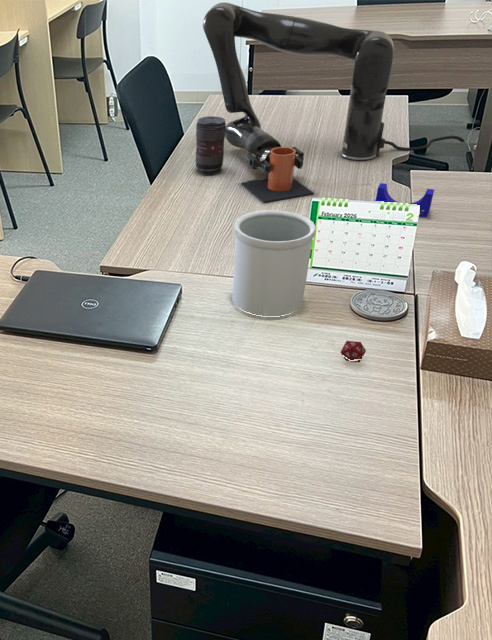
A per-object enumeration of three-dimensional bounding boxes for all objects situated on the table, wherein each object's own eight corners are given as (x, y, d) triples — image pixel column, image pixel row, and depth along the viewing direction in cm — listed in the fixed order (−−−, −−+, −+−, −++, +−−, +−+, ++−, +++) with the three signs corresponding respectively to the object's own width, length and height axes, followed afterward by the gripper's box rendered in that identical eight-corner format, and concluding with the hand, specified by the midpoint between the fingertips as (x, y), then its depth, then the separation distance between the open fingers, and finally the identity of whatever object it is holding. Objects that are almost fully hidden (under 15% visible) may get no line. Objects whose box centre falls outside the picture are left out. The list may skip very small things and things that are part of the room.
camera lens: (225, 174, 202) (228, 123, 194) (197, 177, 203) (198, 125, 194) (220, 164, 209) (223, 114, 201) (193, 167, 209) (194, 116, 201)
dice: (335, 355, 128) (338, 337, 126) (360, 353, 128) (364, 335, 126) (342, 367, 125) (345, 349, 123) (368, 366, 125) (371, 347, 122)
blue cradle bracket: (372, 212, 174) (376, 189, 171) (376, 205, 177) (380, 183, 174) (425, 220, 168) (431, 196, 165) (429, 212, 171) (434, 189, 168)
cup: (285, 181, 194) (288, 145, 188) (296, 189, 188) (300, 153, 183) (263, 184, 193) (266, 149, 187) (273, 193, 188) (277, 156, 182)
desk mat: (288, 176, 197) (288, 174, 197) (313, 194, 186) (313, 192, 186) (241, 184, 196) (241, 182, 195) (263, 203, 184) (264, 201, 184)
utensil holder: (254, 277, 153) (261, 202, 144) (318, 298, 144) (330, 220, 134) (215, 306, 145) (219, 229, 136) (280, 330, 136) (289, 249, 126)
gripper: (238, 137, 197) (259, 157, 183) (288, 131, 197) (313, 149, 184) (237, 163, 201) (257, 184, 187) (285, 157, 201) (309, 177, 188)
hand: (285, 167), depth 186 cm, fingers open, 8 cm apart
